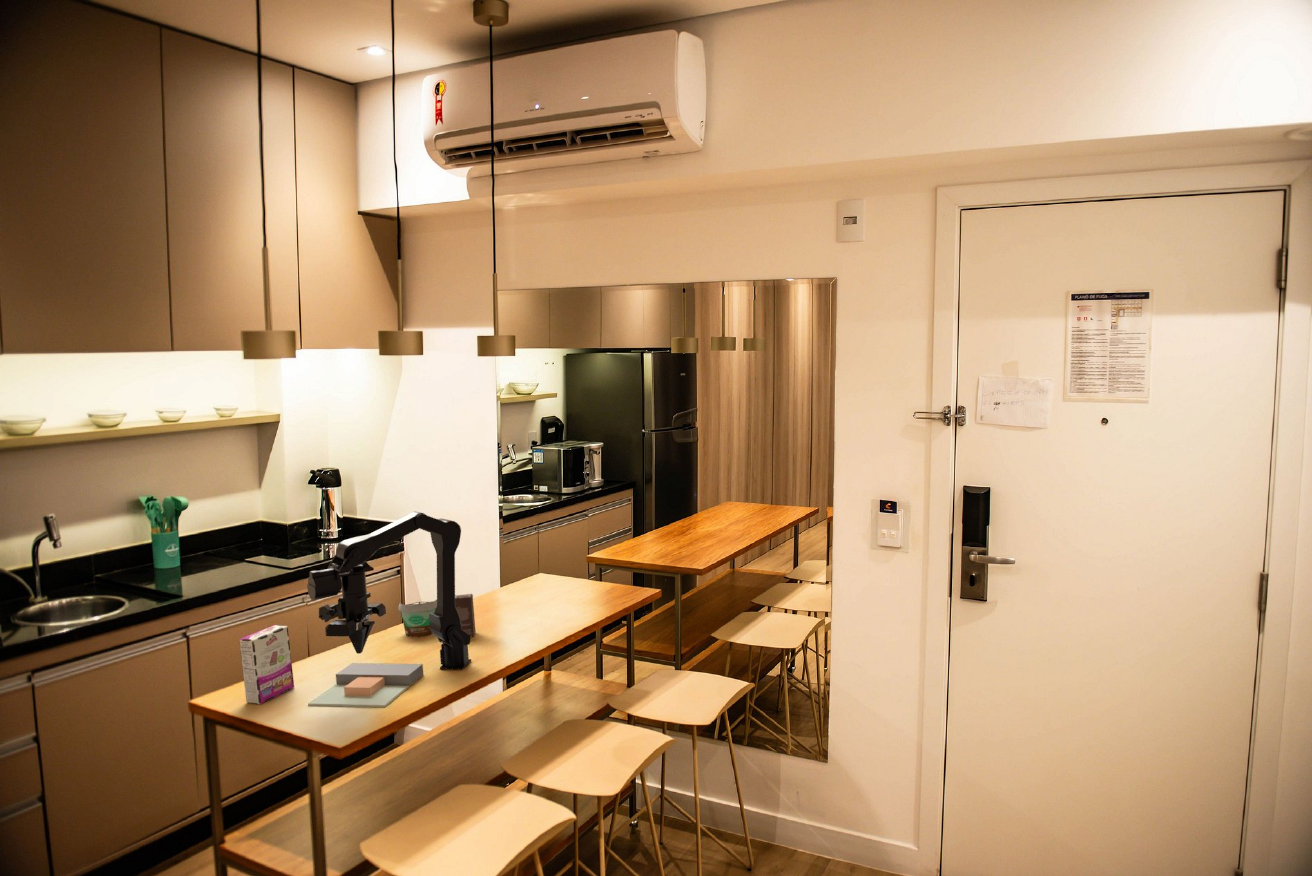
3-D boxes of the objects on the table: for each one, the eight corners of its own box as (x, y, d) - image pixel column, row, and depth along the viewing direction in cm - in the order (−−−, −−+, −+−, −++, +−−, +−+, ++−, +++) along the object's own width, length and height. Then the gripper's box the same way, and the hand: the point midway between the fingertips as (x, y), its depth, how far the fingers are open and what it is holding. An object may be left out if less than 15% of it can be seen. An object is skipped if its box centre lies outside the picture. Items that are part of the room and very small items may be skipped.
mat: (408, 687, 209) (408, 685, 209) (384, 707, 197) (384, 705, 197) (335, 686, 212) (335, 684, 212) (308, 705, 201) (308, 703, 201)
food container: (399, 640, 247) (397, 607, 246) (400, 634, 253) (397, 602, 252) (442, 635, 250) (440, 602, 249) (442, 629, 256) (439, 597, 255)
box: (475, 632, 251) (473, 593, 250) (474, 636, 247) (471, 597, 246) (455, 633, 251) (452, 594, 250) (453, 638, 246) (450, 598, 245)
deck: (423, 675, 217) (422, 663, 217) (409, 686, 209) (408, 675, 209) (353, 674, 221) (352, 663, 220) (336, 685, 213) (335, 674, 213)
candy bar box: (280, 686, 215) (274, 624, 213) (295, 688, 213) (289, 625, 211) (244, 703, 204) (238, 638, 203) (259, 705, 202) (253, 639, 201)
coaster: (385, 684, 210) (384, 677, 210) (370, 695, 203) (370, 687, 203) (359, 684, 212) (359, 676, 211) (344, 695, 205) (343, 687, 205)
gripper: (344, 581, 215) (349, 640, 216) (302, 602, 197) (307, 666, 198) (384, 581, 213) (389, 640, 214) (345, 602, 195) (350, 666, 196)
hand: (359, 653), depth 206 cm, fingers closed
